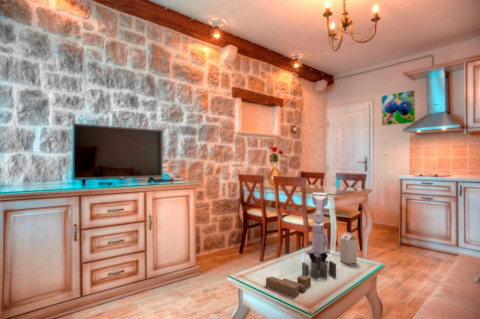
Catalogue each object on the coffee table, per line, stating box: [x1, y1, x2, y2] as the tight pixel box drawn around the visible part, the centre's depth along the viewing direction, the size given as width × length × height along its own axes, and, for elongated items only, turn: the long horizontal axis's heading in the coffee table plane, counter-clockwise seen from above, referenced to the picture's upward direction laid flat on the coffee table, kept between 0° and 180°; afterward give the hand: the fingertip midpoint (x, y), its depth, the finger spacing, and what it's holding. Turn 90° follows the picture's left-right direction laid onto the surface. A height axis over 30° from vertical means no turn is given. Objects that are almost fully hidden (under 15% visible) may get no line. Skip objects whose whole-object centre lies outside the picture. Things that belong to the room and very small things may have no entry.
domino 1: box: [301, 262, 309, 276], centre depth 149 cm, size 2×5×7 cm, turn 10°
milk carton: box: [339, 231, 358, 265], centre depth 172 cm, size 7×7×19 cm
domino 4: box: [319, 261, 328, 278], centre depth 150 cm, size 2×5×7 cm, turn 10°
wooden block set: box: [265, 274, 312, 298], centre depth 137 cm, size 17×6×18 cm
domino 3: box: [315, 257, 322, 271], centre depth 159 cm, size 2×5×7 cm, turn 100°
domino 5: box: [328, 260, 337, 278], centre depth 151 cm, size 2×5×7 cm, turn 10°
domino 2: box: [310, 262, 319, 279], centre depth 150 cm, size 2×5×7 cm, turn 10°
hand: (317, 265), depth 159 cm, fingers closed on domino 3, 5 cm apart
